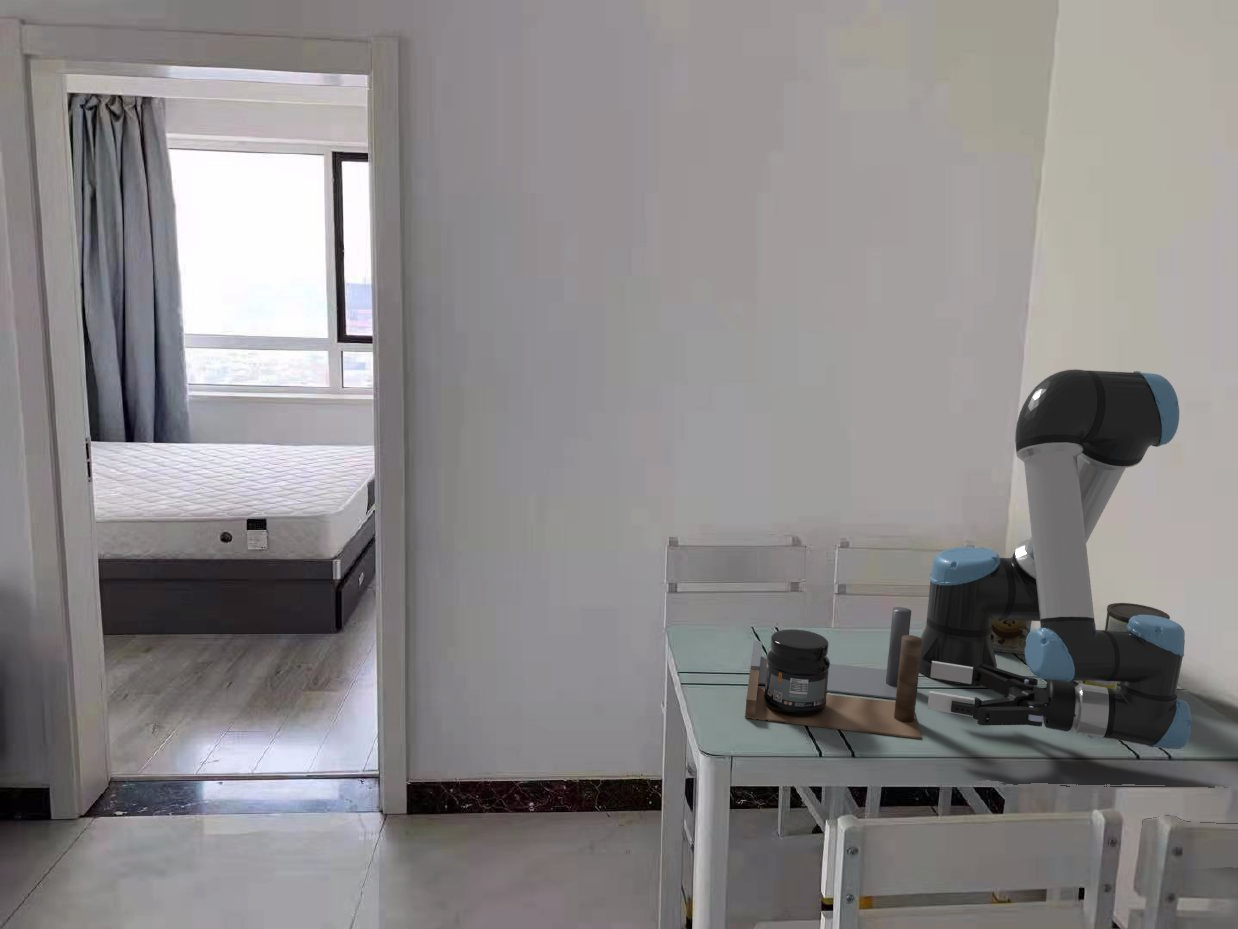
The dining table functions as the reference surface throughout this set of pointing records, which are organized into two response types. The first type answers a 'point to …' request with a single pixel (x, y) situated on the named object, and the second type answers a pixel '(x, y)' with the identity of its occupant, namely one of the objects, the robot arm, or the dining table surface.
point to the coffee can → (1127, 616)
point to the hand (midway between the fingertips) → (929, 683)
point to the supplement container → (797, 673)
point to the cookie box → (1010, 635)
